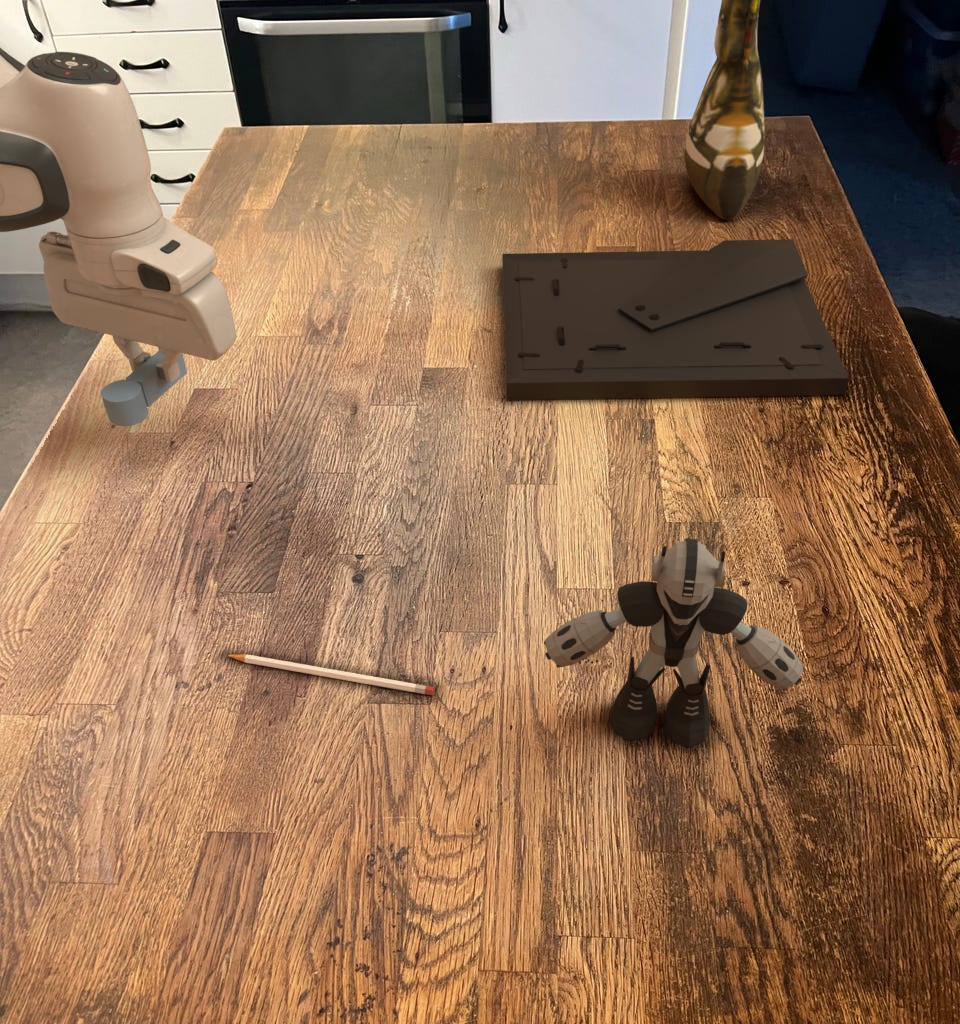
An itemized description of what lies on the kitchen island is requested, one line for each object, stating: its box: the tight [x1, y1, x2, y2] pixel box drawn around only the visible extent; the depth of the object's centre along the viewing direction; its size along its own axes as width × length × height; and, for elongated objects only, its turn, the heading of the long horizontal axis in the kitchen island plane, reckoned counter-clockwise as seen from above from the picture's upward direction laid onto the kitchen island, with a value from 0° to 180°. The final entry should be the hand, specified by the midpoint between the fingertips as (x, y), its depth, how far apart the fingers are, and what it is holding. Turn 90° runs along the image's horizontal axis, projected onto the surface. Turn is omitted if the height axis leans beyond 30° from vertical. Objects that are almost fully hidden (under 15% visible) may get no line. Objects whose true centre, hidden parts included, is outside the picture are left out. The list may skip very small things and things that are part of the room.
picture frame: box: [501, 238, 850, 401], centre depth 122 cm, size 31×4×38 cm
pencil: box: [227, 653, 435, 696], centre depth 85 cm, size 1×19×1 cm, turn 76°
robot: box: [543, 537, 804, 749], centre depth 74 cm, size 20×5×20 cm, turn 81°
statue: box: [684, 0, 766, 221], centre depth 135 cm, size 16×11×35 cm, turn 3°
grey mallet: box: [100, 350, 188, 427], centre depth 103 cm, size 11×4×3 cm, turn 157°
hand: (157, 374), depth 105 cm, fingers closed on grey mallet, 2 cm apart
